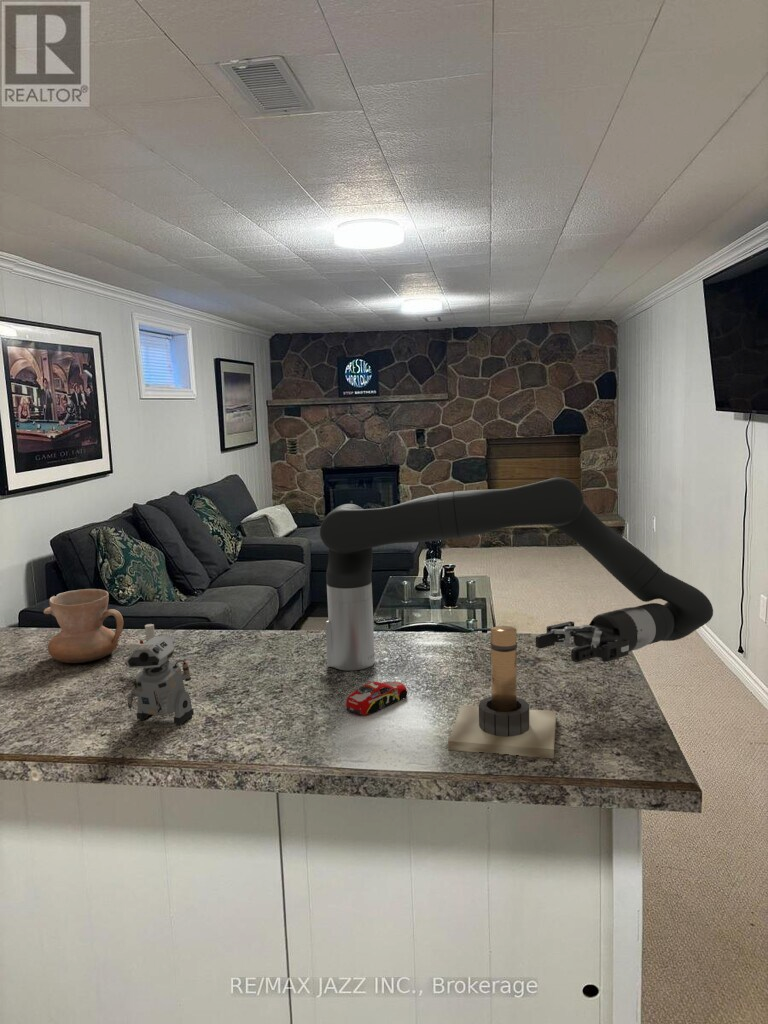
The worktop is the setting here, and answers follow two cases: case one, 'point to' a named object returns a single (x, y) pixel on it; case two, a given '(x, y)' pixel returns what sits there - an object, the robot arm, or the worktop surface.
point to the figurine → (159, 681)
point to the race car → (375, 697)
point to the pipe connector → (149, 634)
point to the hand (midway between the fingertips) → (554, 649)
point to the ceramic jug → (83, 626)
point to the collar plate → (504, 730)
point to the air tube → (504, 668)
